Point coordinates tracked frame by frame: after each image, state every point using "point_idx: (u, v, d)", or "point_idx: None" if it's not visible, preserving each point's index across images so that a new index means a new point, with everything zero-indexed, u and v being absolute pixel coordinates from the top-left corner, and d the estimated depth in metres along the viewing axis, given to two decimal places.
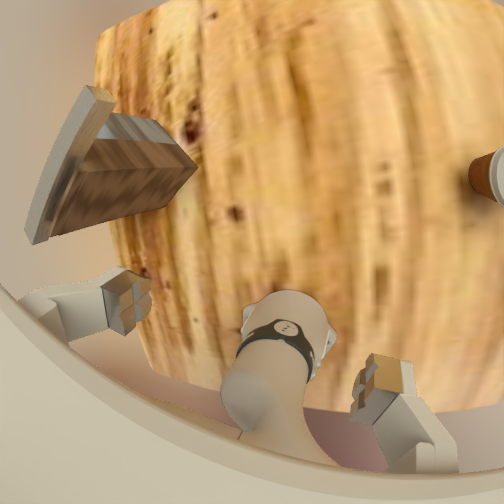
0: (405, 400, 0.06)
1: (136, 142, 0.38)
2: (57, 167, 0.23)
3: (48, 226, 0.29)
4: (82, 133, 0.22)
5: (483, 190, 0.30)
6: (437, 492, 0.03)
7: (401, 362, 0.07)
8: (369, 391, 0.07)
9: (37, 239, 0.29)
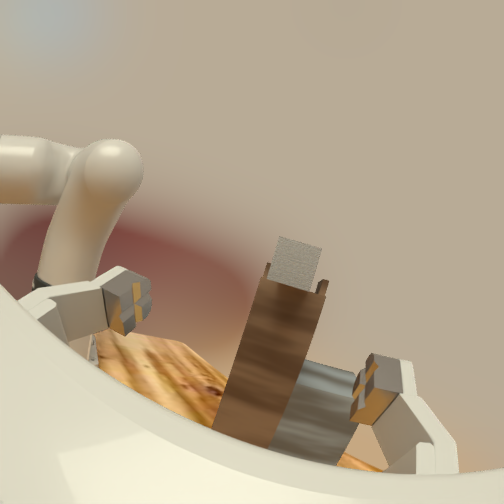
0: (405, 400, 0.06)
1: (276, 414, 0.25)
2: None
3: None
4: None
5: None
6: (437, 492, 0.03)
7: (401, 362, 0.07)
8: (369, 391, 0.07)
9: None
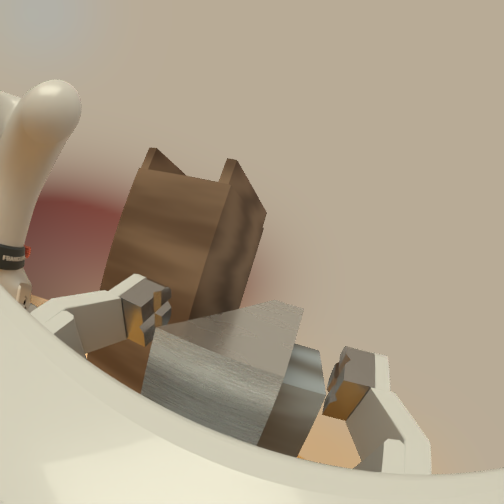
0: (376, 395, 0.06)
1: None
2: (251, 309, 0.14)
3: None
4: None
5: None
6: (437, 492, 0.03)
7: (376, 356, 0.07)
8: (339, 384, 0.07)
9: None
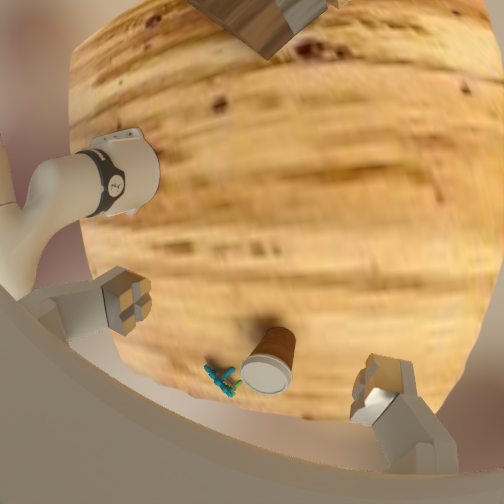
0: (405, 400, 0.06)
1: (271, 4, 0.23)
2: None
3: None
4: None
5: (260, 343, 0.50)
6: (437, 492, 0.03)
7: (401, 362, 0.07)
8: (369, 391, 0.07)
9: None
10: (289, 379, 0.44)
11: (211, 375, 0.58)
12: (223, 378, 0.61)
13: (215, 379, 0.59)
